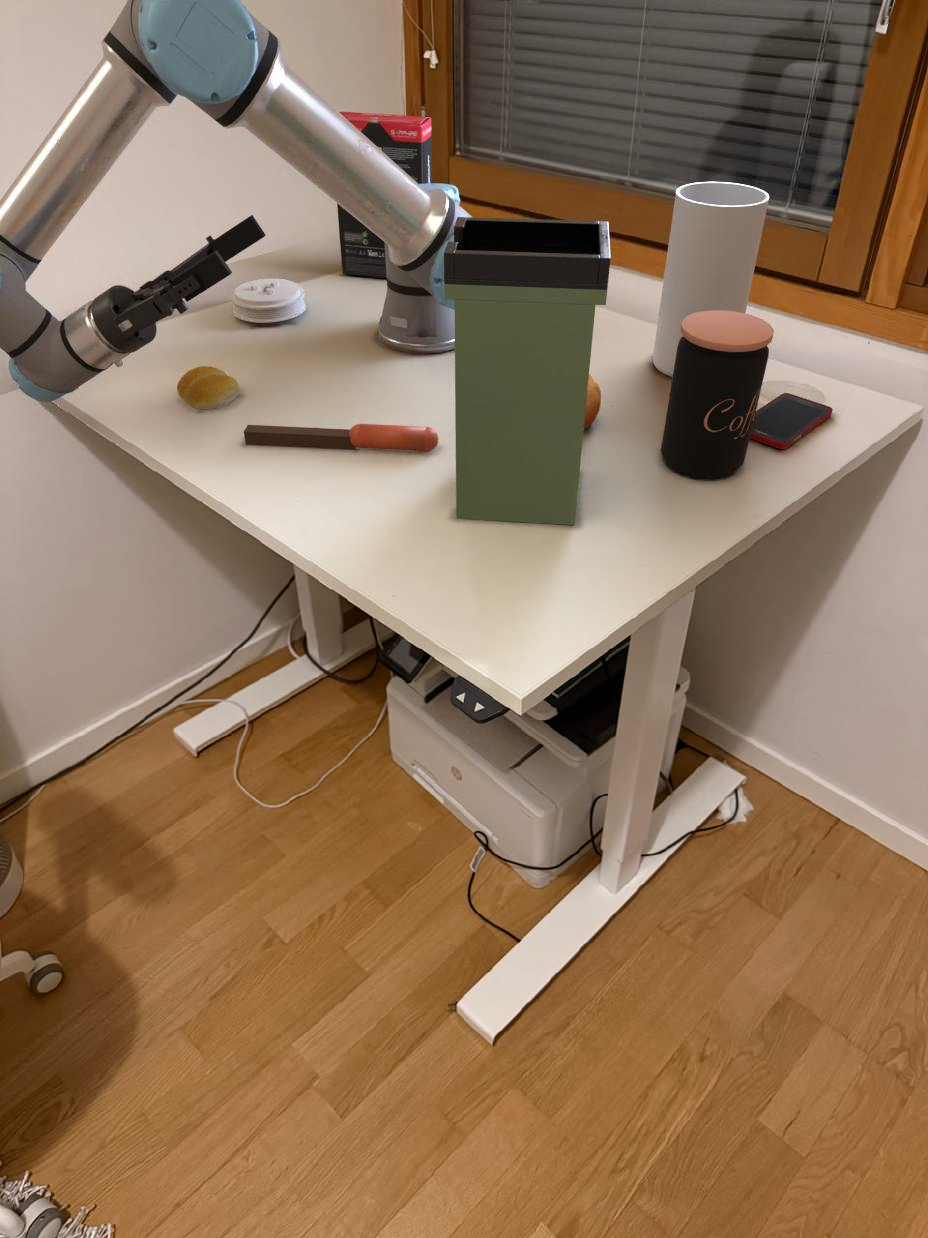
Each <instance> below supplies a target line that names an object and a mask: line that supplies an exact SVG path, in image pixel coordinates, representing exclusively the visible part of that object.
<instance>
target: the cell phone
mask: <svg viewBox="0 0 928 1238" xmlns="http://www.w3.org/2000/svg"><path fill="white" fill-rule="evenodd" d="M832 414H833V407H831V406H829V405H827V404H823V403H820V402H817V401H813V400H810V399H807V398H806V397H802V396H799V395H796V394H792V393H789V392H783V393H781V394H780V395H778V396H776V397H774V399H772V400H770V401H769V402H767V403H766V404H765V405H763V406H762V407H759V409H756V413H755V417H754V421H753V426H752V430H751V434H750V439H751V440H753V441H757V442H759V443H762V444H765V445H768V446H769V447H773V448H776V449H779V450H785V449H787V448H789V447H791V446H792V445H793V444H794V443H795V442H796V441H797V440H799V439H800V438H802V437H804V436H805V435H807V434H808V433H809V432H811V431H812V430H813V429H814V428H816V427H817V426H818V425H820V424H821V423H822V422H824V421H825V420H826V419H828V418H829V417H830V416H831V415H832Z"/></svg>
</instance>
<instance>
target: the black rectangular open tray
mask: <svg viewBox="0 0 928 1238" xmlns="http://www.w3.org/2000/svg"><path fill="white" fill-rule="evenodd" d="M610 243H611V242H610V229H609V221H607V220H605V221H602V220H601V221H599V220H571V219H570V220H569V219H536V218H509V217H508V218H505V217H502V218H501V217H499V218H498V217H473V216H471V217H458V218H457V220H456V223H455V225H454V242H448V243H447V246H446V249H445V251H444V284H460V285H487V286H515V287H542V288H570V289H598V290H607V291H608V288H609V277H610V270H611V269H610V267H611V258H612V257H611V245H610Z"/></svg>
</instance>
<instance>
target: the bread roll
mask: <svg viewBox="0 0 928 1238" xmlns="http://www.w3.org/2000/svg"><path fill="white" fill-rule="evenodd" d="M176 391H177V393H178V396H179V397H180V398H181V399H182V401H184V402H186V403H188V404H189V406H190V407H192V408H193V409H197V410H211V409H212V410H213V409H219V408H223V407H225V406H228V405H229V404H231V403H233V402H234V401H235V400H236V399H237V398H238V396H239V394H240V385H239V383H238V380H236V379H235V378H234V377H232V376H230V375H228V374H227V373H226V372H224V371H223V370H222V369H220V368H217V367H215V366H208V365H207V366H206V365H202V366H196V367H193V368H192V369H189V370H188V371H187V372H186V373H184V374H183V375H182V376H181V377H180V378H179V380H178V382H177V385H176Z"/></svg>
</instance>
